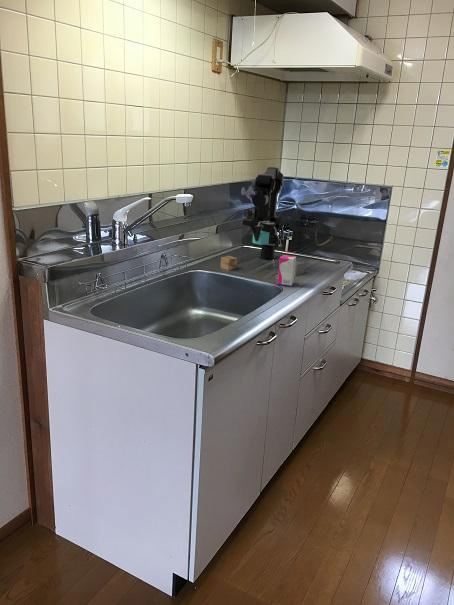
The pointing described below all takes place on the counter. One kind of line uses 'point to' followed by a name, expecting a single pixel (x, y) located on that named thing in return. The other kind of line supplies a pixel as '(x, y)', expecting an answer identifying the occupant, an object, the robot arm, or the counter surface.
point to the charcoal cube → (299, 268)
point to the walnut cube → (228, 263)
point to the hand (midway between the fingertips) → (260, 240)
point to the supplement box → (286, 270)
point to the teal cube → (262, 238)
